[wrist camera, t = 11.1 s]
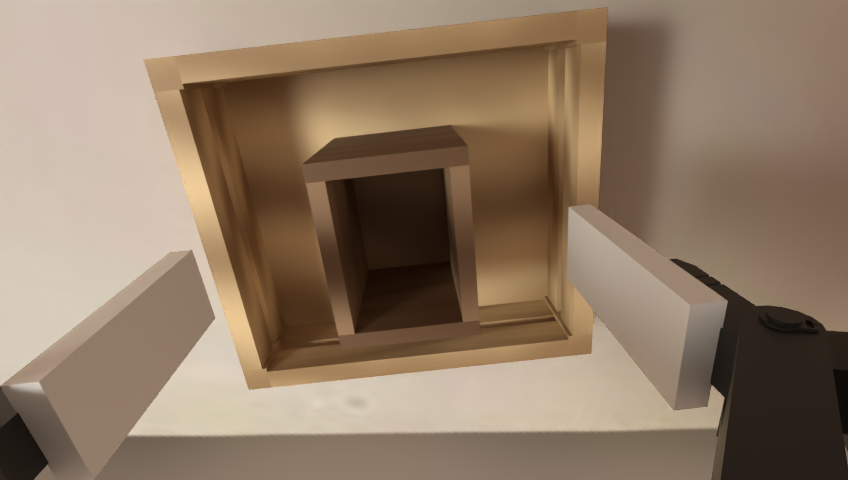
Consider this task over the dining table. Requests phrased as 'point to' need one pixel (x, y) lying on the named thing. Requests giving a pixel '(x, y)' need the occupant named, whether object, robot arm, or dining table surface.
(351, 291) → the walnut crate
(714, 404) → the dining table surface
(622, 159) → the dining table surface
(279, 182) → the oak crate
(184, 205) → the dining table surface
